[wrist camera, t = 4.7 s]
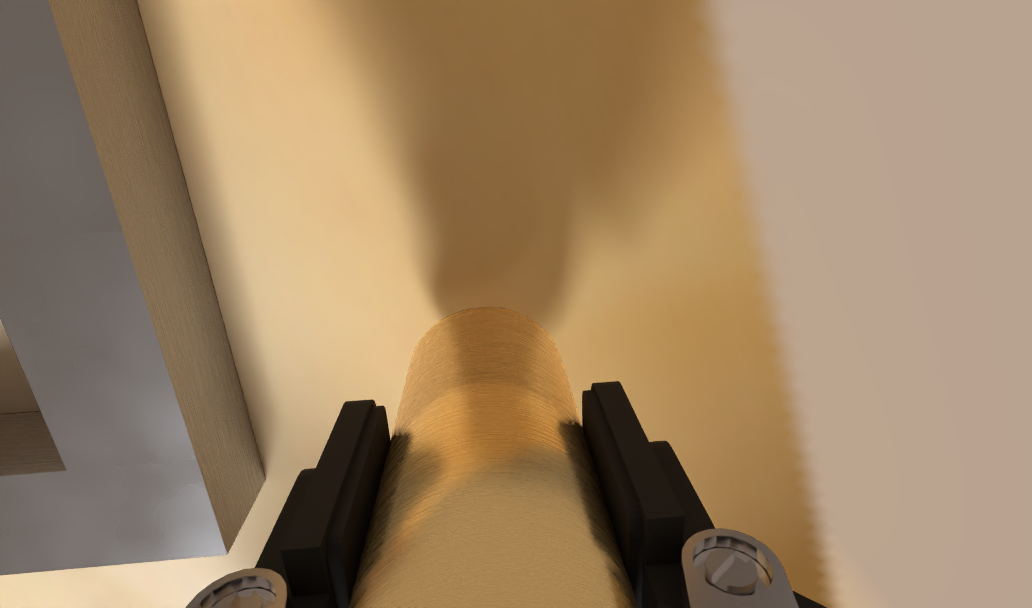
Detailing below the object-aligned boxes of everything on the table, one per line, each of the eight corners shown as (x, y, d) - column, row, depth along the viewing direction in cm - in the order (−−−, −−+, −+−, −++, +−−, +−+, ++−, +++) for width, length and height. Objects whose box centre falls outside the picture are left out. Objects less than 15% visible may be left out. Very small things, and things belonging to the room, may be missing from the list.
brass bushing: (564, 438, 15) (699, 984, 6) (418, 449, 15) (319, 1030, 6) (561, 301, 14) (732, 735, 5) (399, 312, 14) (229, 787, 4)
